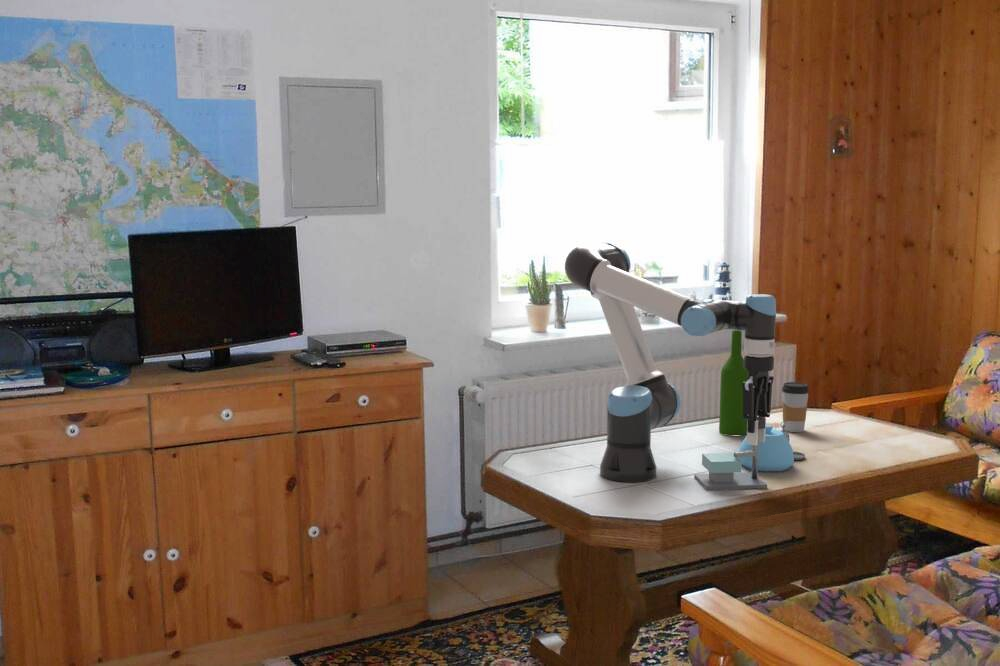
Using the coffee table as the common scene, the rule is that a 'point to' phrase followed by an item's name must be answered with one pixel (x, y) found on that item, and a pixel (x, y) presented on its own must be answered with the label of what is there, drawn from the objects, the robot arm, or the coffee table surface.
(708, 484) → the grey base plate
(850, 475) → the coffee table surface
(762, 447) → the sugar bowl
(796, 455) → the pocket watch
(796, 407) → the coffee cup
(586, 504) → the coffee table surface
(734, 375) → the wine bottle
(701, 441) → the coffee table surface
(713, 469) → the lid
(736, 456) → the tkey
